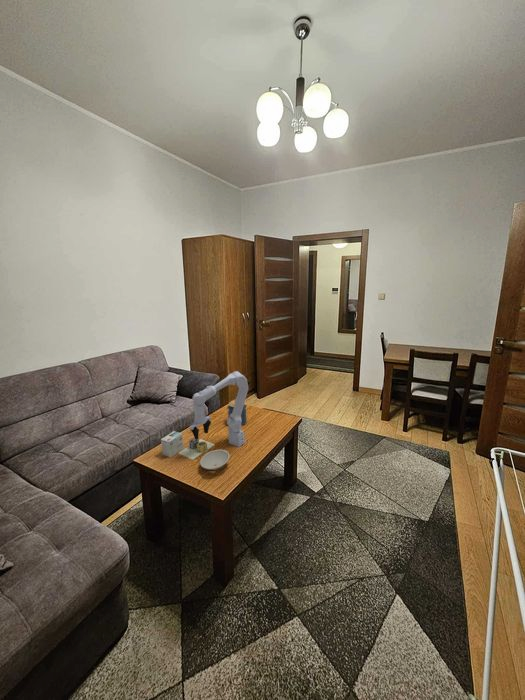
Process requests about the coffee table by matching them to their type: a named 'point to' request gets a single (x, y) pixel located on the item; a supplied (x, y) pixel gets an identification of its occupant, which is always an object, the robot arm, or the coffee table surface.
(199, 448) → the gear
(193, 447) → the gear
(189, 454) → the gear board
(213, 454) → the dish
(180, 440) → the light bulb box
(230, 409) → the canister
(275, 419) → the coffee table surface
